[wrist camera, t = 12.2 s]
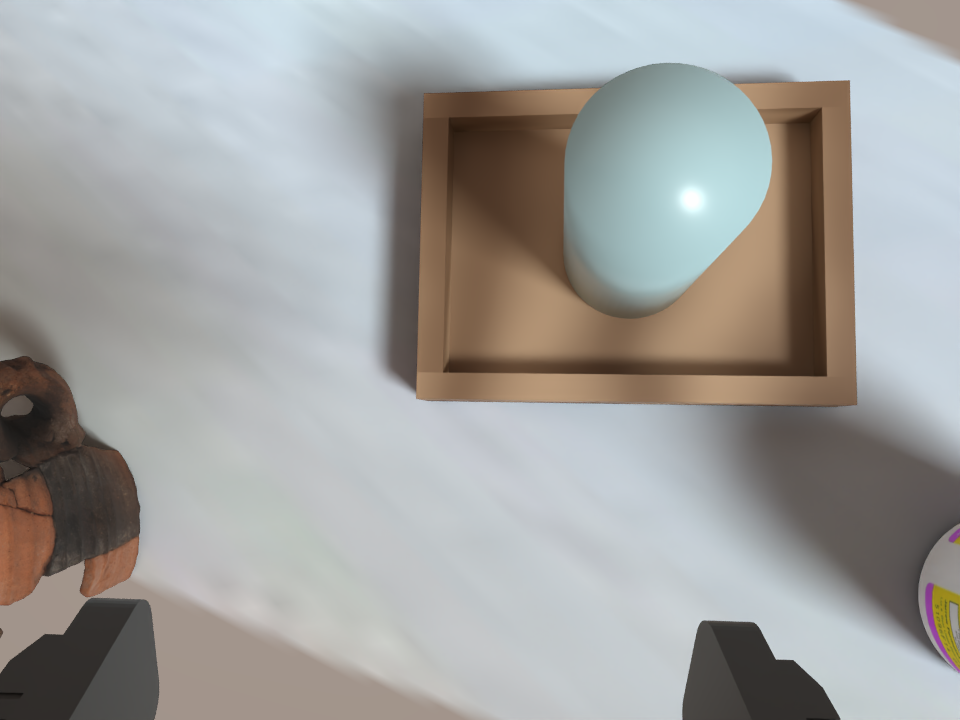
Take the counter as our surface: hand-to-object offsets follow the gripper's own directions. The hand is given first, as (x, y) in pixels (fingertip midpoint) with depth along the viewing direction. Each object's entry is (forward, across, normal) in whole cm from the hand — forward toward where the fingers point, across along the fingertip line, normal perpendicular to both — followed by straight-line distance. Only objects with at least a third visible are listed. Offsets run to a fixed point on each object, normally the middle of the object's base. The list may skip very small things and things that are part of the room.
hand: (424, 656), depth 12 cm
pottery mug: (+21, +17, +11) cm, 29 cm away
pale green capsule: (+21, -7, -1) cm, 22 cm away
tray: (+22, -7, -1) cm, 23 cm away
